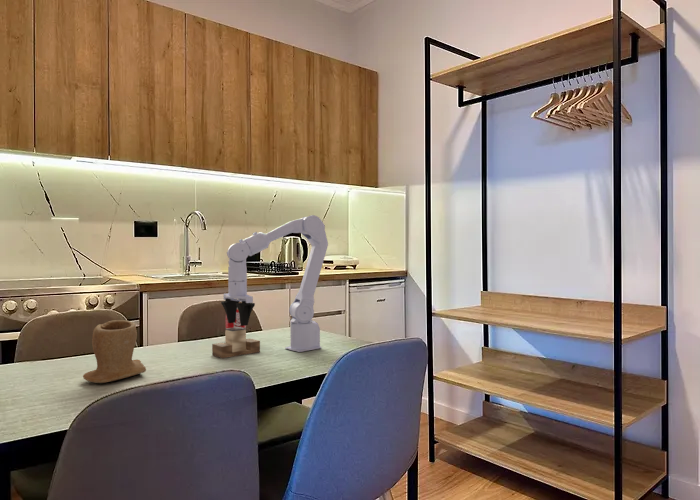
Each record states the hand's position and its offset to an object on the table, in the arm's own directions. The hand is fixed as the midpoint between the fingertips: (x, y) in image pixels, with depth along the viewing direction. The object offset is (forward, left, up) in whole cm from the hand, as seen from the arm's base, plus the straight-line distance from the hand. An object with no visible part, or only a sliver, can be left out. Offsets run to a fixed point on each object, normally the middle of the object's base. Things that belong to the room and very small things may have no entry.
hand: (237, 324), depth 160 cm
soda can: (-11, -20, -10) cm, 24 cm away
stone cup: (+38, +5, -10) cm, 40 cm away
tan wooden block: (+1, -1, -8) cm, 8 cm away
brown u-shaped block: (0, -1, -9) cm, 9 cm away
